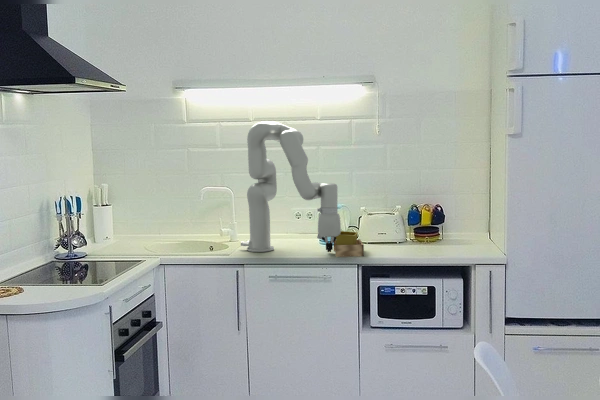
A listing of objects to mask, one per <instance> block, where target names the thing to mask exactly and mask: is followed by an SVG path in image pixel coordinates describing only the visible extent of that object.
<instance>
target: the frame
mask: <svg viewBox="0 0 600 400" xmlns="http://www.w3.org/2000/svg"><path fill="white" fill-rule="evenodd" d="M333 251H334V252H335V257H336V258H338V257H341V258H342V257H345V258H346V257H364V255H365V254H364V253H365V245H364V243H363V242H362V240H361V239H359V238H358V239H357V242H356V245H336V240H335V241H334V242H333Z"/></svg>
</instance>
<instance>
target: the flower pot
mask: <svg viewBox="0 0 600 400" xmlns="http://www.w3.org/2000/svg"><path fill="white" fill-rule="evenodd" d="M338 235H339V236H337V237H336V245H356V242H357V240H358V232H355V231H346V230H341V234H338Z"/></svg>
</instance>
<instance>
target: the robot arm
mask: <svg viewBox="0 0 600 400" xmlns="http://www.w3.org/2000/svg"><path fill="white" fill-rule="evenodd" d="M246 137H247V138H246V139H247V141H246V143H247V154H248V155H247V157H248V159H247V161H248V175H249V176H250V177H251V179H252V180H256V181H257V182H255V183H252V184H251V185H250V186H249V188H247V192H246V198H247V203H248V213H249V214H248V215H249V216H248V217H249V240H247V241H240V247H247V248H246V251H248V252H251V253H252V252H253V253H266V252H271V251H272V252H273V251H274V250H275V248H274V247H275V246H272V244H271V214H270V213H271V211H270V206H269V202H270V201H271V200H273V199H275V197H276V195H277V190H278V188H277V184H278V183H277V168H276V166H275V163H274V162H273V160H271V159H269V158H267V147H266V143H265V142H266V141H275V142H277V143H279V145H280V147H281V148H282V151H283V153H284V154H285V157H286V159H287V161H288V164H289V165H290V170H291V176H292V177H291V178H292V180H293V183H294V186H295V187H296V188H295V189H296V190H297V192H298V194H299V196H300V197H301V198H302V199H303V200H305V201H313V200H317V199H320V207H318V208H317V212H319V214H318V218H317V219H318V220H317V236H316V237H317V239H318V240H322V241H323V242H324V243H325V250H326V252H327V253H332V251H334V241H335V240H336V237H337V236H339V235H338V234H341V231H342V230H341V229H342V228H341V216H340V214H339V213H338V212H339V211H338V208H339V207H338V185H337V184H336V183H332V182H325V183H322V182H316V181H315V182H314V181H313V182H312V181H311V179H310V176H309V175H308V169H307V168H308V162H309V158H308V156H307V154H306V151H305V149H304V147H303V146H302V145H303V144H304V135H303V134H302V133H301V132H300V131H299V130H298V129H295V128H293V127H290V126H287V125H285V124H282V123H281V122H277V121H260V122H257V123H255V124H254V125H252V126H251V128H250V129H249V131H248V132H247V136H246ZM328 237H330V240H329V239H328Z"/></svg>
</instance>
